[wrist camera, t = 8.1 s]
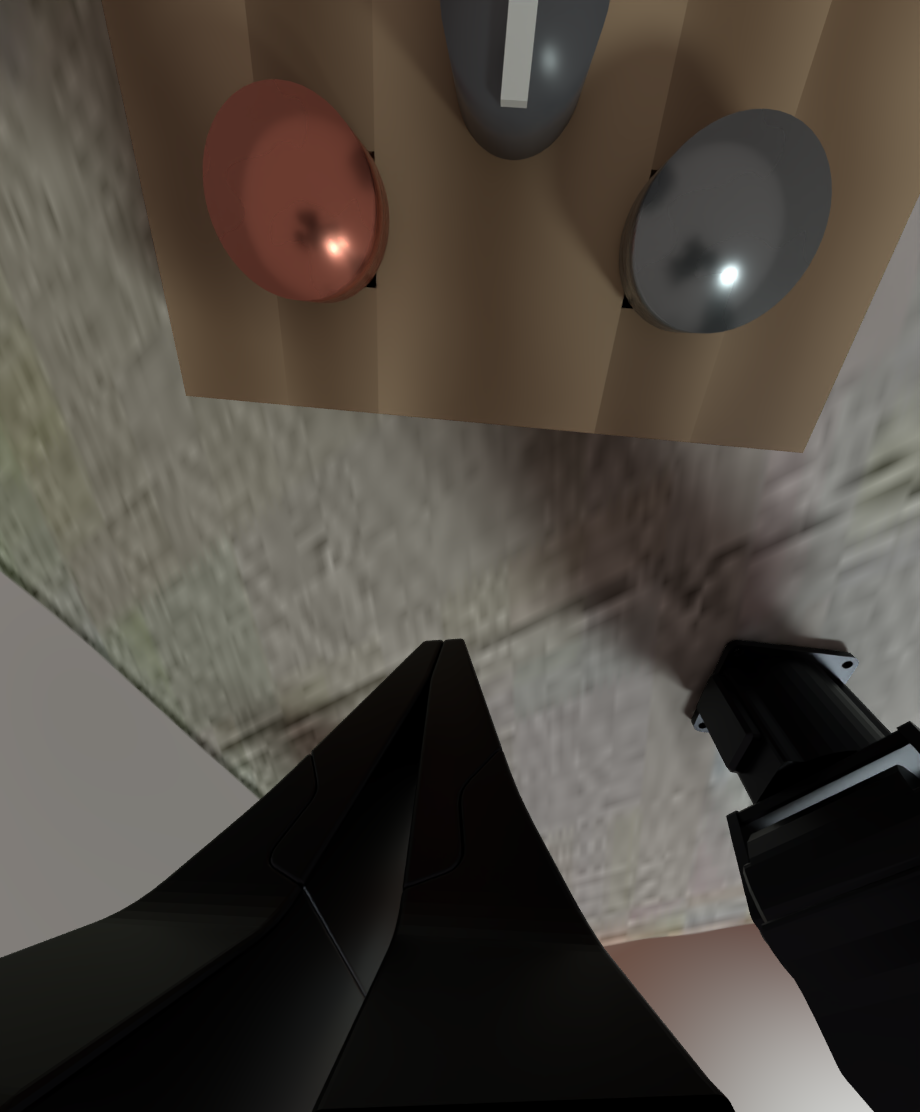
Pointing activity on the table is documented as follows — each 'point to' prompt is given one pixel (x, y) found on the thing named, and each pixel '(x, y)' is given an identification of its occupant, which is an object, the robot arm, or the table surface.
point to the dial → (520, 67)
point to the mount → (526, 212)
